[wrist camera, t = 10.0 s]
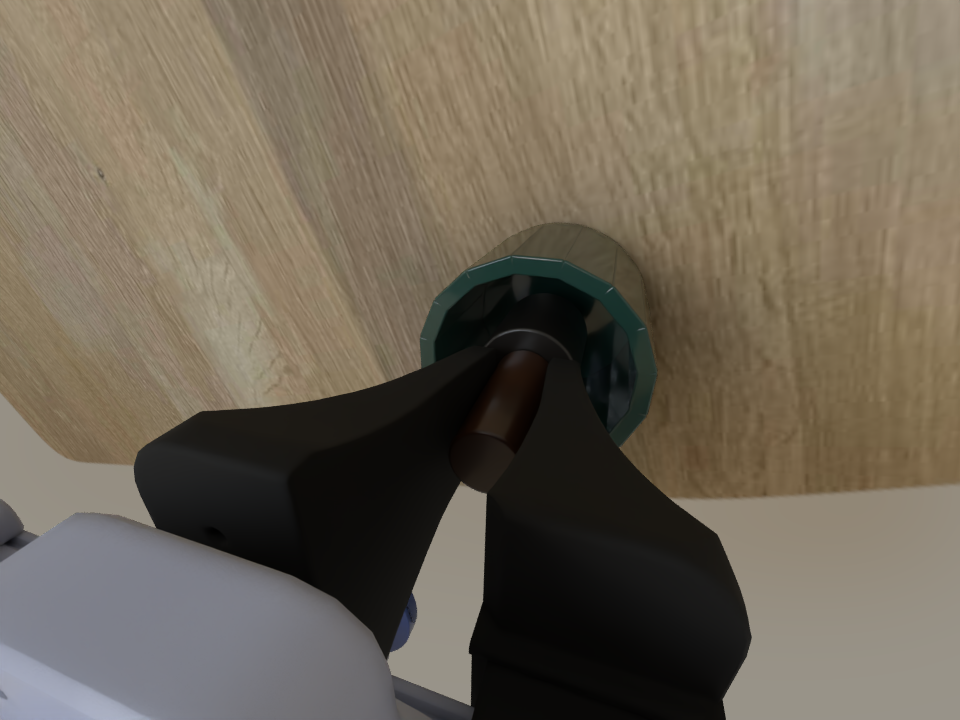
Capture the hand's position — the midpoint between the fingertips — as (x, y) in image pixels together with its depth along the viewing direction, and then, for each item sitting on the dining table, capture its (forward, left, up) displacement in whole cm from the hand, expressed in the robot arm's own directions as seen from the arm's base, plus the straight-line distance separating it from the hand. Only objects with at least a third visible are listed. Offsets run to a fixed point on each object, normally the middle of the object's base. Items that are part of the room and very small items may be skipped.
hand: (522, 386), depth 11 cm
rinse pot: (0, 0, -6) cm, 6 cm away
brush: (0, 0, -4) cm, 4 cm away
